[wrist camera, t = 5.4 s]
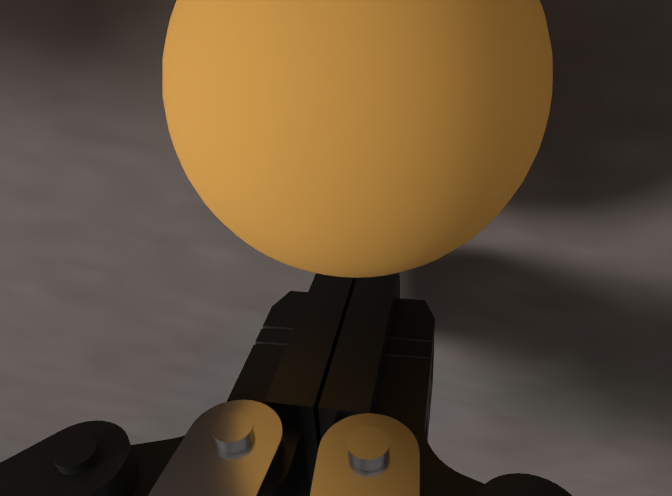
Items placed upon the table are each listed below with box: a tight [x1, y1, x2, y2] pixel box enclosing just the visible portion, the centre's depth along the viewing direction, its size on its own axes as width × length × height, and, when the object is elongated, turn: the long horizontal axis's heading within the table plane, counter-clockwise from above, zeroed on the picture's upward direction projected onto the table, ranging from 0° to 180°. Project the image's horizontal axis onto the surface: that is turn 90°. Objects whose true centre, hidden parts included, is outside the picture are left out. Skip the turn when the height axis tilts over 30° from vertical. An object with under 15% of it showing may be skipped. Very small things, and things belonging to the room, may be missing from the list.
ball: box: [163, 0, 553, 278], centre depth 8 cm, size 5×5×5 cm
